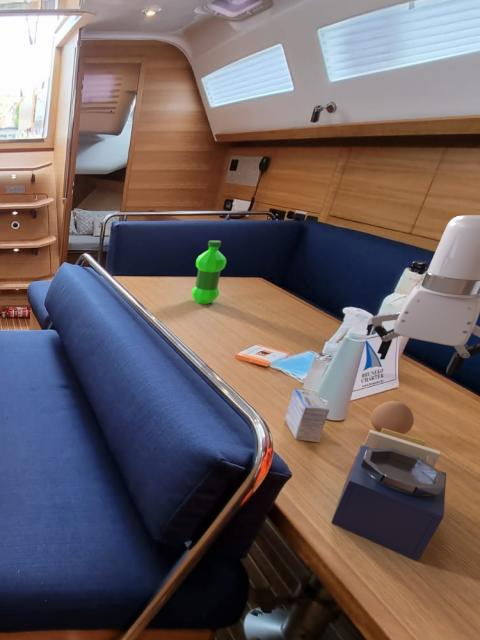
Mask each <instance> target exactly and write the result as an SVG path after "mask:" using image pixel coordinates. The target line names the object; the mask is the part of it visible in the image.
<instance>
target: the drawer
mask: <svg viewBox="0 0 480 640" xmlns="http://www.w3.org/2000/svg"><path fill="white" fill-rule="evenodd" d="M425 444H426V440H424V439H420V438H417V437H414V436H410V435H407V434H401V433H398V432H394V431H391V430H388V429H385V428H382V430H381V433H380V432H378V431H377V430H373V429H369V431H368V434H367V436H366V438H365V442H364V444H363V445H364V446H367V447H370V448H389V449H394V450H397V451H400V452H403V453H407V454H410V455H413V456H416V457H419V458H420V459H423V460H424V461H426V462H427V463H429V464H430V465H432V466H433V467H434V468H435V466H436V465H437V462H438V461H439V459H440V457H441V455H442V454H441V453H442V451H441V450H437V449H435V448H431V447H428V446H425Z"/></svg>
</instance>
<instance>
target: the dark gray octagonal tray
mask: <svg viewBox="0 0 480 640" xmlns="http://www.w3.org/2000/svg"><path fill="white" fill-rule="evenodd" d="M361 468H362V470H363V471H364V473H365V474H366V475H367V476H368V477H369V478H371V479H372V480H373V481H375V482H377V483H378V484H380V485H382V486H384V487H386V488H388V489H390V490H392V491H395V492H398V493H401V494H404V495H408V496H413V497H420V498H429V497H433V496H436V495H439V494H440V493H441V491H442V489H443V488H444V477H445V475H443V473H442V472H443V471H442V472H440V471H441V470H439V469H437V468H436V467H435V466H434V467H433V466H432V465H430V464H429V463H427V462H426V461H424V460H423V459H420V458H419V457H416V456H413V455H410V454H407V453H403V452H400V451H397V450H394V449H389V448H371V449H366V452H365V454H364V456H363V460H362V462H361Z"/></svg>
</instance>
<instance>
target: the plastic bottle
mask: <svg viewBox="0 0 480 640" xmlns="http://www.w3.org/2000/svg"><path fill="white" fill-rule="evenodd" d="M221 244H222V241H221V240H218V239H217V240H216V239H215V240H213V239H211V240H208V241H207V247H208V249H207V250H206V251H204V252H202V253H201V254H200V255H198V256H197V258H196V259H195V267H196V268H197V273H196V275H197V276H196V279H195V280H196V281H195V285H194V287H193V288H192V289H191V296H192V298H193V299H194V300H195V301H196V303H198V304H201V305H209V304H211V303H213V302H214V301H215V300H217V299H218V297H219V295H220V292H219V291H220V290H219V288H218V286H219V281H220V277H221V271H222V270H224V269H225V268H226V265H227V263H228V262H227V258H226V257H225V256H224V254H222V253H221V251H220V250H219V248H220V247H221Z"/></svg>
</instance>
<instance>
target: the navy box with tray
mask: <svg viewBox="0 0 480 640" xmlns="http://www.w3.org/2000/svg"><path fill="white" fill-rule="evenodd" d="M366 449H371V448H370V447H367V446H364V444H361V445H360V447H359V449H358V451H357V453H356V456H355V457H354V461H353V463H352V465H351V467H350V470H349V473H348V475H347V477H346V479H345V482H344V485H343V487H342V491H341V493H340V496H339V499H338V501H337V504H336V508H335V510H334V513H333V516H332V518H331V521H330V522H331V524H332V525H335V526H337V527H339V528H341V529H344V530H346V531H348V532H351V533H353V534H355V535H357V536H360V537H362V538H363V539H366V540H368V541H371V542H373V543H376V544H377V545H379V546H382V547H384V548H387V549H389V550H391V551H393V552H395V553H397V554H400V555H402V556H404V557H407V558H408V559H411V560H413V561H415V562H419V560H420V559H421V557H422V555H423V554H424V552H425V550H426V548H427V547H428V545H429V543H430V542H431V540H432V537H433V536H434V535H435V533H436V531H437V530H438V527H439V526H440V524H441V523H442V520H443V519H444V517H445V501H446V486H447V472H445V471H443V470H439V471H440V472H442V473H443V475H445V477H444V488H443V489H442V491H441V493H440V494H439V495H436V496H433V497H429V498H420V497H413V496H408V495H404V494H401V493H398V492H395V491H392V490H390V489H388V488H386V487H384V486H382V485H380V484H378V483H377V482H375V481H373V480H372V479H371V478H369V477H368V476H367V475H366V474H365V473H364V471H363V470H362V468H361V462H362V460H363V456H364V454H365V452H366Z"/></svg>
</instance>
